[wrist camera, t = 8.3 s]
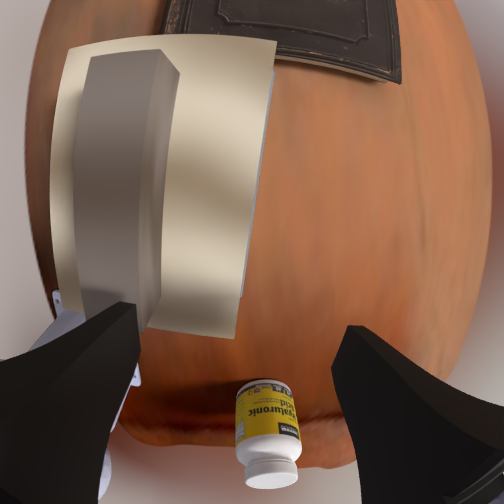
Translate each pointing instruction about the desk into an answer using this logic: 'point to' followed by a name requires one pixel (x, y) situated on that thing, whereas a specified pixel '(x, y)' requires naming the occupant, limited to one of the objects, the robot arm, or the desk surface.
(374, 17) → the hardcover book
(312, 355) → the desk surface
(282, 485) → the supplement bottle
